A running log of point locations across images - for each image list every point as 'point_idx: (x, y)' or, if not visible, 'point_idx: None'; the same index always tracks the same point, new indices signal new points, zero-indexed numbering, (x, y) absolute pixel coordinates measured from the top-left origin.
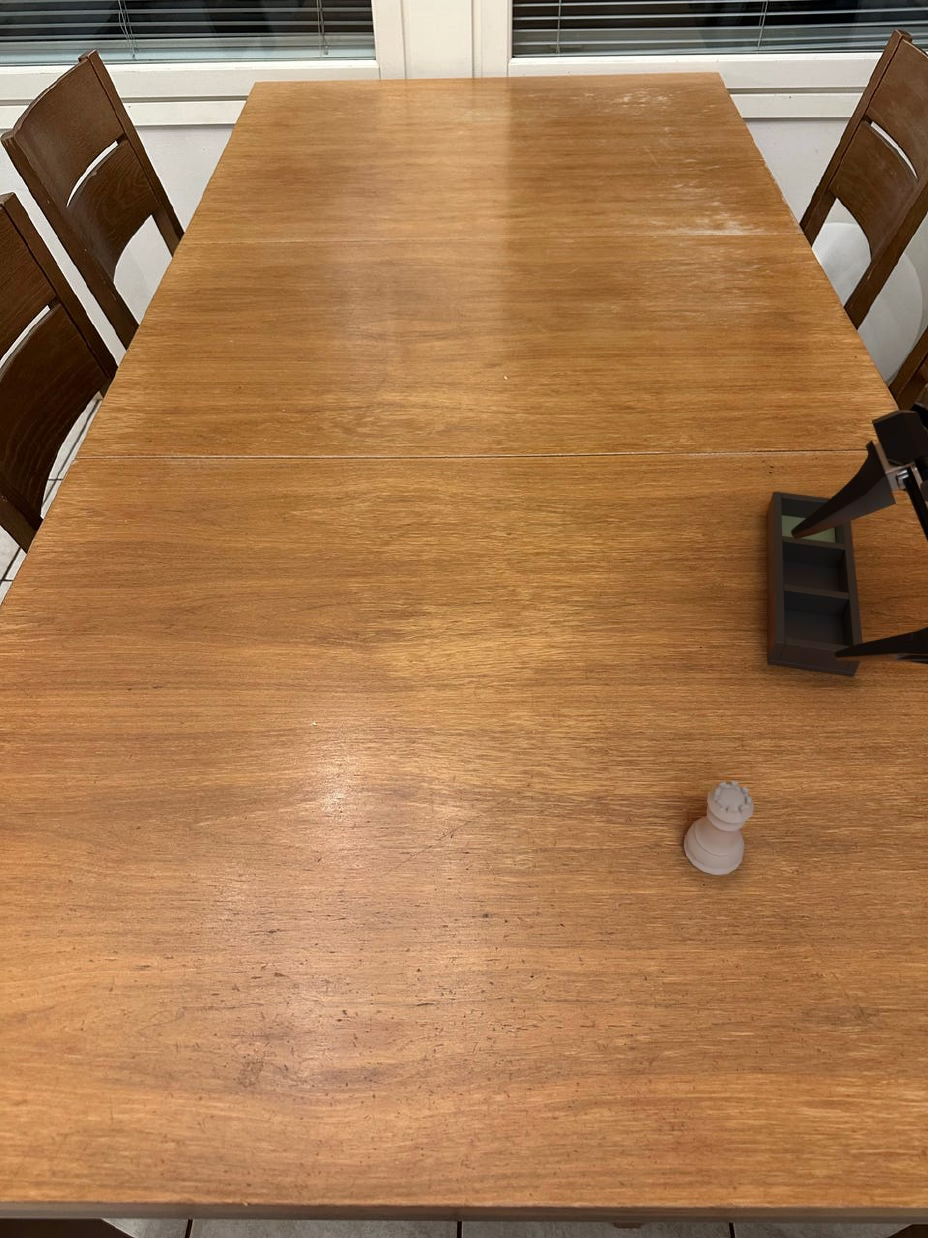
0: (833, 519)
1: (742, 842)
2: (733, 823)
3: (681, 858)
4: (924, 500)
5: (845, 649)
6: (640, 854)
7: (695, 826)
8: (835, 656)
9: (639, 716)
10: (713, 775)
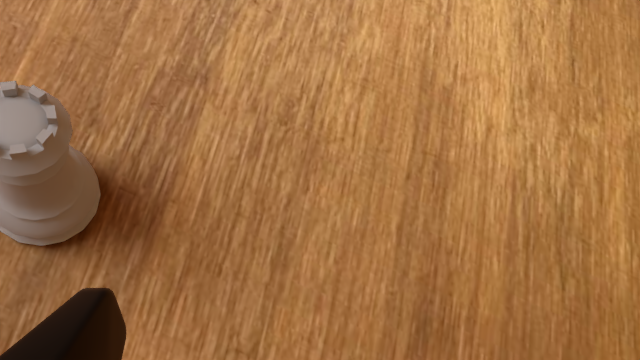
0: None
1: (13, 224)
2: None
3: None
4: None
5: (82, 318)
6: (86, 91)
7: (77, 156)
8: (91, 288)
9: (338, 199)
10: (191, 269)
